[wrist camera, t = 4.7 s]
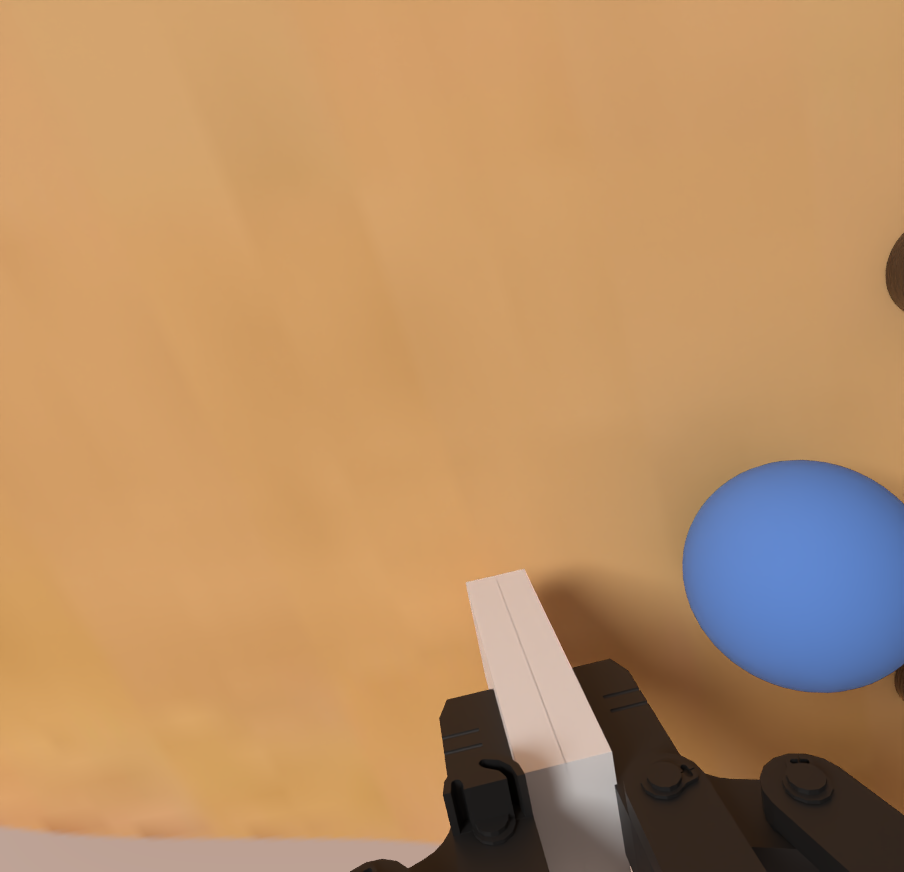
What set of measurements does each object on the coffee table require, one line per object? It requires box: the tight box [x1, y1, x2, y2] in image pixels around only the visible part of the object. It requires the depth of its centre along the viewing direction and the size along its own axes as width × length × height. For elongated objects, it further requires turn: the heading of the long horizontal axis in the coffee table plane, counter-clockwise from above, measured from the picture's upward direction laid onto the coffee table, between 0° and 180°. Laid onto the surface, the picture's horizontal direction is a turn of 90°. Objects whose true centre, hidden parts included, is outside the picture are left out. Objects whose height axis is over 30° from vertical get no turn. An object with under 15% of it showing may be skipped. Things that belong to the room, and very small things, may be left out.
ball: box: [683, 460, 904, 693], centre depth 17 cm, size 6×6×6 cm
